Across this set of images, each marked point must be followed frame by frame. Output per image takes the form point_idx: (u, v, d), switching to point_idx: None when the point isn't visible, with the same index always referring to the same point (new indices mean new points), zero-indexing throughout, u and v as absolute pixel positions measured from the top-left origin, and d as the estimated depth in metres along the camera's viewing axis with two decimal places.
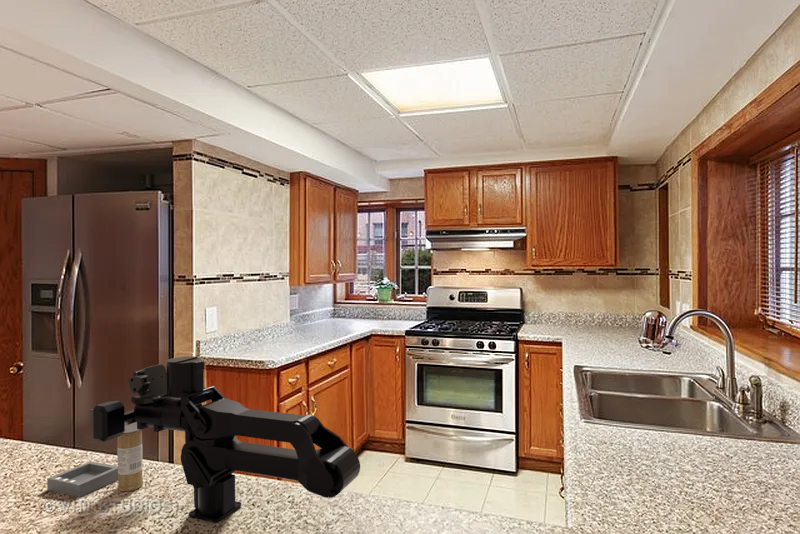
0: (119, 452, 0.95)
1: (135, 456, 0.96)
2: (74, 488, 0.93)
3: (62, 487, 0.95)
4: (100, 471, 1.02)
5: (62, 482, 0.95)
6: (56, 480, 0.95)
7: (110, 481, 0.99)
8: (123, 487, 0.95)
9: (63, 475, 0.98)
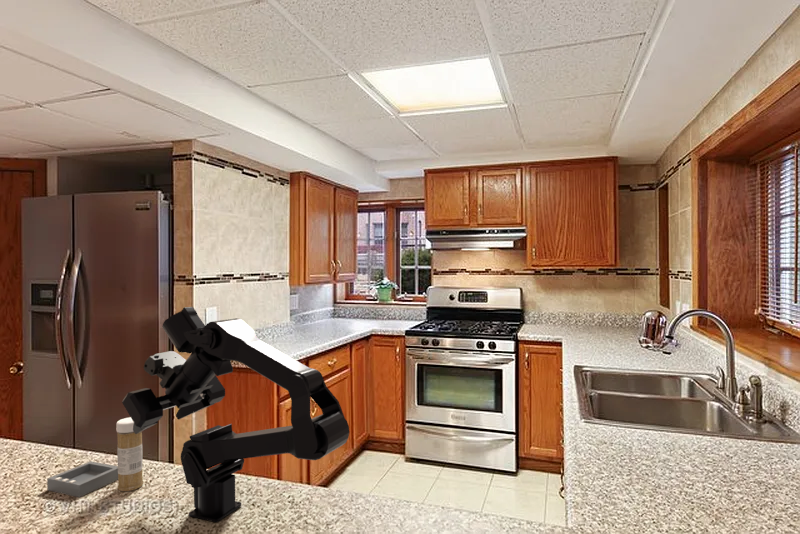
0: (119, 452, 0.95)
1: (135, 456, 0.96)
2: (74, 488, 0.93)
3: (62, 487, 0.95)
4: (100, 471, 1.02)
5: (62, 482, 0.95)
6: (56, 480, 0.95)
7: (110, 481, 0.99)
8: (123, 487, 0.95)
9: (63, 475, 0.98)
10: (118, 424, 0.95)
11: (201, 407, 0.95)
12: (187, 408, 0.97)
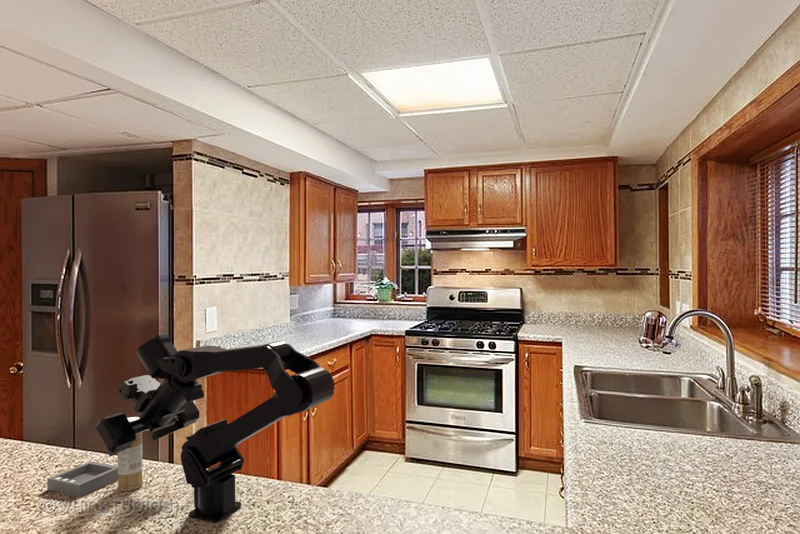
0: (119, 452, 0.95)
1: (135, 456, 0.96)
2: (74, 488, 0.93)
3: (62, 487, 0.95)
4: (100, 471, 1.02)
5: (62, 482, 0.95)
6: (56, 480, 0.95)
7: (110, 481, 0.99)
8: (123, 487, 0.95)
9: (63, 475, 0.98)
10: None
11: (175, 429, 0.98)
12: (162, 429, 1.00)
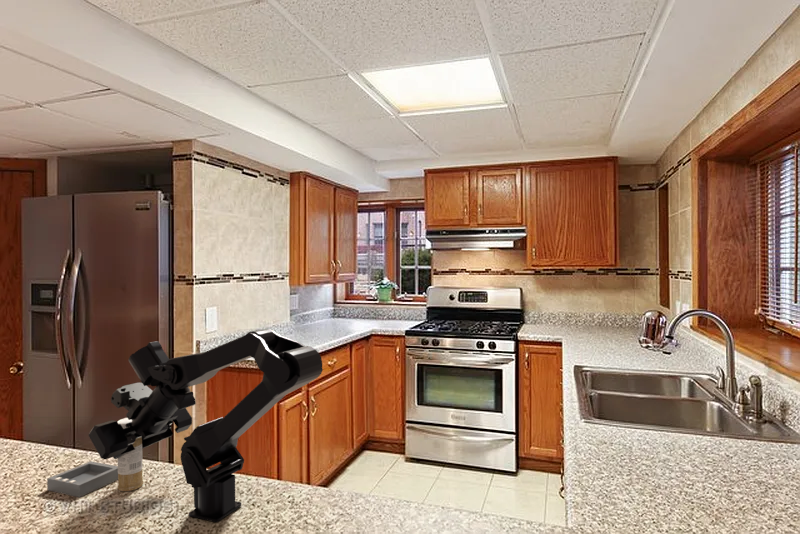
0: None
1: (135, 456, 0.96)
2: (74, 488, 0.93)
3: (62, 487, 0.95)
4: (100, 471, 1.02)
5: (62, 482, 0.95)
6: (56, 480, 0.95)
7: (110, 481, 0.99)
8: (123, 487, 0.95)
9: (63, 475, 0.98)
10: None
11: (158, 439, 0.97)
12: (144, 440, 0.99)
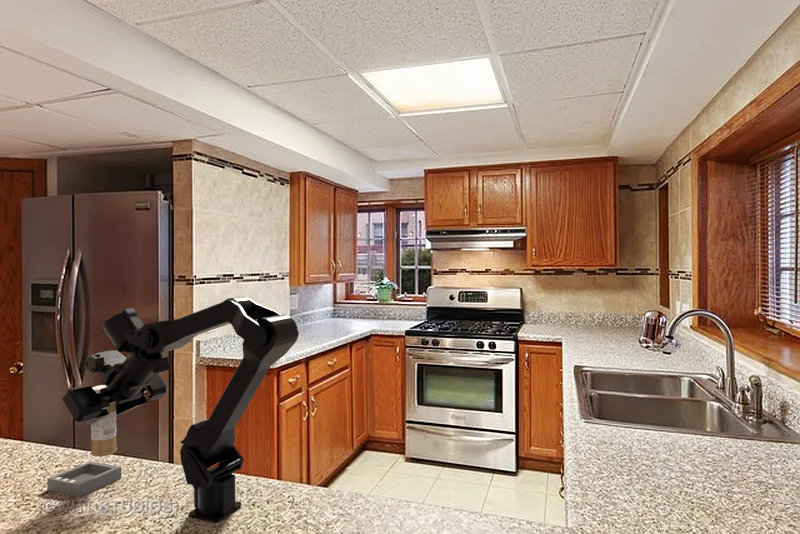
0: None
1: (109, 422, 0.97)
2: (74, 488, 0.93)
3: (62, 487, 0.95)
4: (100, 471, 1.02)
5: (62, 482, 0.95)
6: (56, 480, 0.95)
7: (110, 481, 0.99)
8: (97, 452, 0.96)
9: (63, 475, 0.98)
10: None
11: (132, 406, 0.99)
12: (118, 407, 1.00)
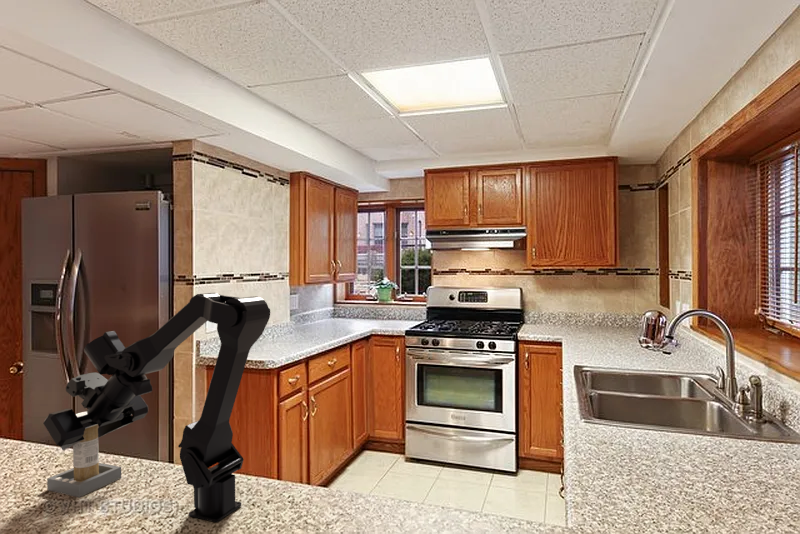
0: (75, 446, 0.97)
1: (91, 449, 0.97)
2: (74, 488, 0.93)
3: (62, 487, 0.95)
4: (100, 471, 1.02)
5: (62, 482, 0.95)
6: (56, 480, 0.95)
7: (110, 481, 0.99)
8: (79, 480, 0.97)
9: (63, 475, 0.98)
10: None
11: (119, 425, 1.01)
12: (106, 427, 1.02)
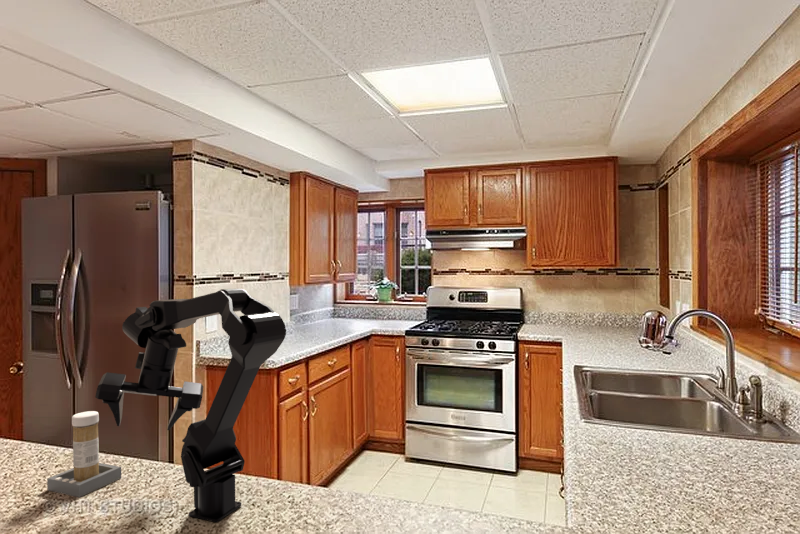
0: (75, 445, 0.97)
1: (91, 449, 0.98)
2: (74, 488, 0.93)
3: (62, 487, 0.95)
4: (100, 471, 1.02)
5: (62, 482, 0.95)
6: (56, 480, 0.95)
7: (110, 481, 0.99)
8: (79, 480, 0.97)
9: (63, 475, 0.98)
10: (74, 418, 0.97)
11: (175, 410, 0.98)
12: (172, 416, 1.00)
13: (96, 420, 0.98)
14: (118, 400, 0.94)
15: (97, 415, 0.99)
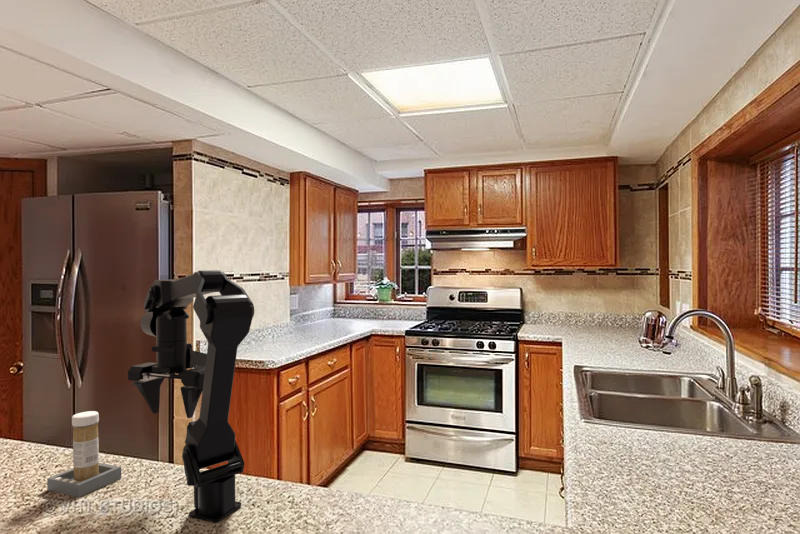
0: (75, 446, 0.97)
1: (91, 449, 0.98)
2: (74, 488, 0.93)
3: (62, 487, 0.95)
4: (100, 471, 1.02)
5: (62, 482, 0.95)
6: (56, 480, 0.95)
7: (110, 481, 0.99)
8: (79, 480, 0.97)
9: (63, 475, 0.98)
10: (74, 418, 0.97)
11: None
12: None
13: (96, 420, 0.98)
14: (143, 382, 1.01)
15: (97, 415, 0.99)
